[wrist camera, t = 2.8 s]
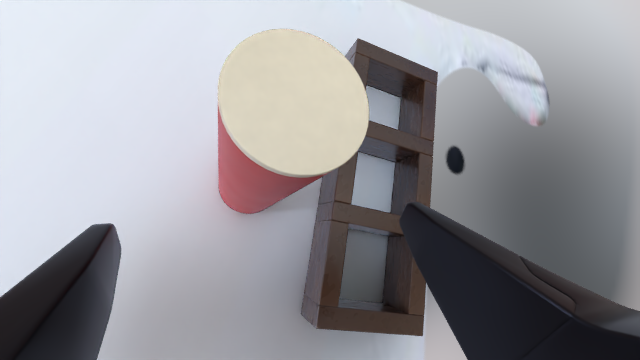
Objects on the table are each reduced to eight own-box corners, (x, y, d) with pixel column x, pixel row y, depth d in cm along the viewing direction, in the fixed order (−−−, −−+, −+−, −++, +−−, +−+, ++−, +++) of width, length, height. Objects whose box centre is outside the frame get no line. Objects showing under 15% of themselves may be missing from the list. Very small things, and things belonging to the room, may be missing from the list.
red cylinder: (287, 196, 19) (393, 137, 7) (236, 224, 18) (269, 204, 6) (261, 148, 19) (325, 13, 7) (207, 172, 18) (185, 50, 6)
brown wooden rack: (394, 322, 20) (423, 336, 17) (300, 314, 18) (315, 328, 15) (413, 90, 25) (438, 71, 22) (340, 61, 23) (357, 37, 20)
